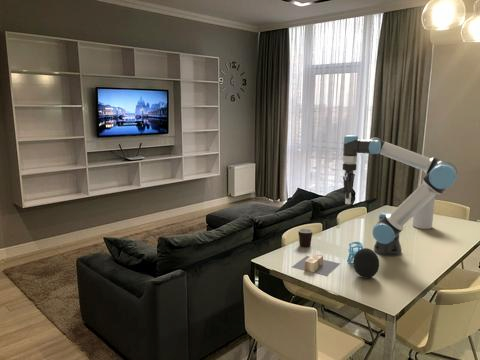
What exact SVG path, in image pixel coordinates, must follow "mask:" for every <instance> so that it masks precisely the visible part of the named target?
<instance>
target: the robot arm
mask: <svg viewBox="0 0 480 360" xmlns="http://www.w3.org/2000/svg"><path fill="white" fill-rule="evenodd" d="M342 144H343V154H342V157H341V158H342V162H343V163H342V170H343V171H345V173H344V176H343V177H342V178H343V193H345V195H344V196H345V199H344V203H345V204H346V205H351V204H352V202H351V201H352V193H353V189H354V182H355V177H356V174H355V173H354V172H355V171H356V170H357V164H358V163H357V162H358V154H370V155H377V154H378V155H382V156H384V157H387V158H389V159H392V160H395V161H397V162H401V163H402V164H405V165H408V166H411V167H413V168H415V169H417V170H421V171H422V172H424V173H425V174H426V175H424V177H423V178H422V183H421V184H420V185H419V186H418V187H417V188H416V189H415V190H414V191H412V193H411V194H409V196H407V198H406V199H404V200H403V201H402V203H401V204H400V205H398V207H396V208H395V209H394V210H393V211H392V212H380V213H379V215H378V221H377V222H376V223H375V225H374V226H373V227H372V233H371V234H372V236H373V238H374V240H375V244H374V247H373V251H374V252H375V253H376V254H378V255H383V256H391V257H395V256H399V255H401V254H402V246H401V242H400V234H401V232H402V231H403V230H404V225H405V224H407V223H408V222H409V220H411V219H413V216H414V215H415V214H416V213H417V212H418V211H419V210H420V209H421V208H422V207H423V206H424V205H425V204H426V203H428V202H429V201H430V200H431V199H432V198H433V197H434V196H435V197H436V196H437V195H441V194H443V193H444V192H445V191H446V190H447V189H449V188H450V187H452V186H453V185H454V184H455V183H456V182H457V178H458V177H457V176H458V169H457V166H455V164H453V163H451V162H450V161H446V160H443V159H440V158H437V157H428V156H426V155H422V154H420V153H417V152H415V151H411V150H409V149H406V148H403V147H401V146H398V145H395V144H393V143H390V142H387V141H385V140H382V139H381V138H379V137H371V138H369V139H360V138H359V137H358V135H355V134H353V135H352V134H351V135H345V136H344V138H343V143H342Z"/></svg>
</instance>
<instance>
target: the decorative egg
mask: <svg viewBox="0 0 480 360" xmlns="http://www.w3.org/2000/svg"><path fill="white" fill-rule="evenodd" d="M352 263H353V264H352V265H353V268H354V271H355V272H356V274H357V275H358V276H359V277H361V278H363V279H370V278H373V277H374V276H375V275H377V273H378V271H379V268H380V259H379V257H378V255H377V252H375V251H374V250H373V249H371V248H367V247H365V248H364V247H363V249H361V248H360V250H359V251H358V252H357V253H356V254H355V256H354V259H353V261H352Z"/></svg>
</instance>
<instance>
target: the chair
mask: <svg viewBox="0 0 480 360" xmlns="http://www.w3.org/2000/svg"><path fill="white" fill-rule="evenodd" d="M354 244H355V245H354ZM352 245H353V246H352ZM348 246H349V248H348V249H347V250H348V256H347V260H346V262H347V264H351V265H353V260H354V256H355V254H356V253H357V252H358V251H359V250H360V249H363V248H364V245H363V243H362V242H360V241H353V242H351V243H348Z"/></svg>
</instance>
